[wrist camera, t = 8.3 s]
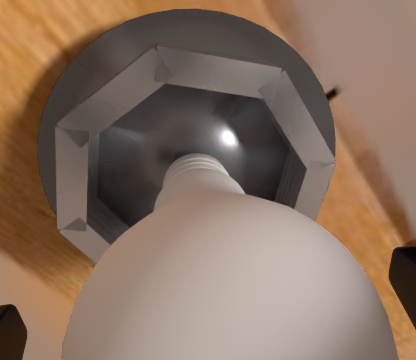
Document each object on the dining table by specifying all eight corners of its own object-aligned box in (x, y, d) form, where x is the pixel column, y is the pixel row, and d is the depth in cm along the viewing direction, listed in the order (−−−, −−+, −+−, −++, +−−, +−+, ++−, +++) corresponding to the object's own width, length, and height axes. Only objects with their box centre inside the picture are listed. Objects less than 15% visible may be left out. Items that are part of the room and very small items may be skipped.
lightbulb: (100, 112, 12) (-153, 516, 2) (264, 88, 13) (618, 366, 3) (135, 245, 15) (83, 679, 5) (269, 223, 15) (452, 594, 6)
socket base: (361, 179, 17) (405, 218, 13) (167, 298, 19) (167, 356, 16) (228, -68, 12) (249, -98, 8) (-15, 133, 14) (-69, 168, 11)
